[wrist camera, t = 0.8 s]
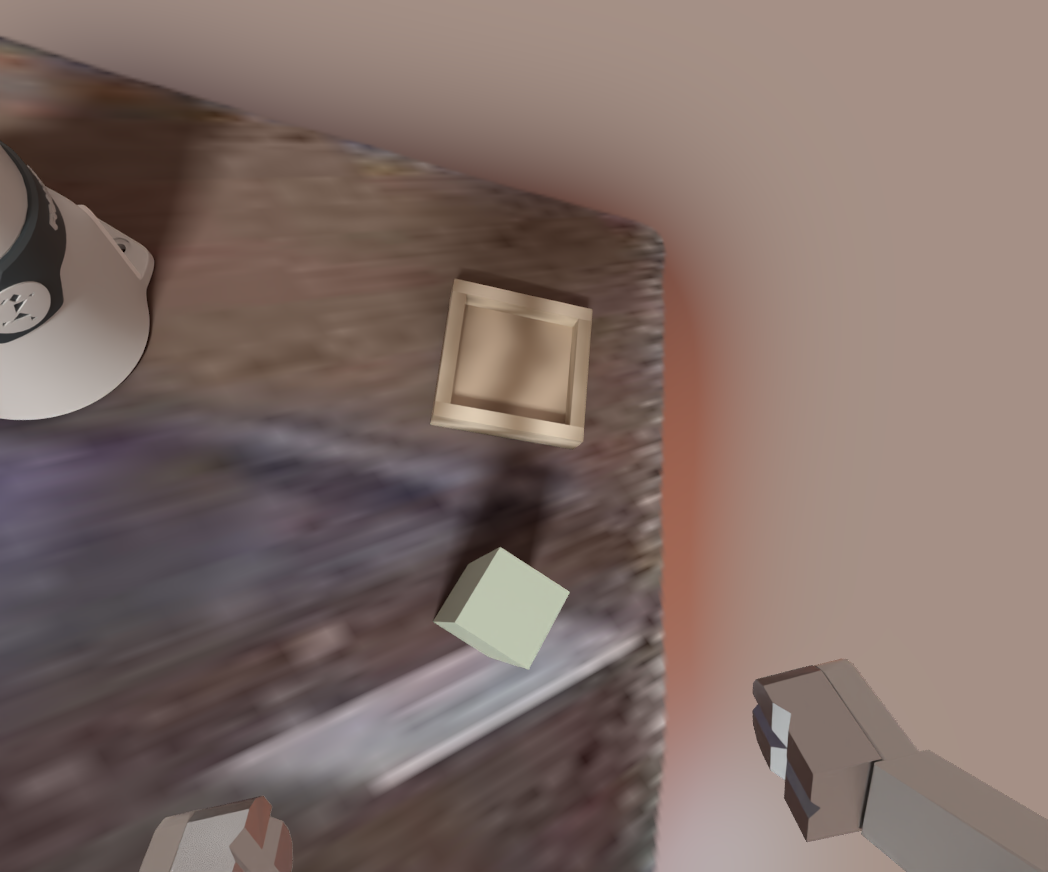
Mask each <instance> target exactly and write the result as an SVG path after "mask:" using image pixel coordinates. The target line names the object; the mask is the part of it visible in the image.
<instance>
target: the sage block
mask: <svg viewBox="0 0 1048 872" xmlns="http://www.w3.org/2000/svg"><path fill="white" fill-rule="evenodd" d="M569 593H570V592H569V591H567V590H566V589H564V588H563V587H561V586H560V585H558V584H557V583H555V582H553V581H552V580H550V579H549V578H547V577H546V576H544V575H543V574H541V573H540V572H538V571H537V570H535V569H533V568H532V567H530V566H529V565H527V564H526V563H524V562H523V561H521V560H520V559H518V558H517V557H515V556H513V555H512V554H510V553H509V552H507V551H506V550H504V549H503V548H501V547H499V548H497V549H495V550H493V551H492V552H490V553H488V554H486V555H484V556H482V557H480V558H479V559H477V560H475V561H473V562H471V563H469V564H468V565H467V567H466V569H465V570H464V572H463V573H462V575H461V577H460V578H459V580H458V582H457V583H456V585H455V586H454V588H453V590H452V591H451V593H450V595H449V596H448V598H447V599H446V601H445V603H444V604H443V606H442V608H441V609H440V611H439V612H438V614H437V616H436V617H435V619H434V621H433V622H434V623H436V624H438V625H439V626H441V627H442V628H444V629H445V630H447V631H449V632H450V633H452V634H453V635H455V636H456V637H458V638H460V639H461V640H463V641H464V642H466V643H467V644H469V645H470V646H472V647H474V648H475V649H477V650H478V651H480V652H481V653H483V654H485V655H486V656H488V657H490V658H493V659H496V660H500V661H503V662H506V663H509V664H512V665H515V666H519V667H522V668H525V669H528V670H529V668H530V666H531V664H532V662H533V660H534V659H535V657H536V655H537V653H538V651H539V649H540V647H541V645H542V643H543V642H544V640H545V638H546V636H547V634H548V632H549V630H550V628H551V627H552V625H553V623H554V621H555V619H556V617H557V615H558V613H559V612H560V610H561V608H562V606H563V604H564V602H565V600H566V598H567V597H568V595H569Z"/></svg>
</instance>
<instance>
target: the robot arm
mask: <svg viewBox="0 0 1048 872" xmlns="http://www.w3.org/2000/svg"><path fill="white" fill-rule="evenodd" d="M121 249H126V250H125V252H123V251H122V250H121ZM153 269H154V258H153V256H152V255H151V254H150V252H149V251H148V250H147V249H146V248H145V247H144V246H143V245H141V244H140V243H138V242H136V241H135V240H133V239H131V238H130V237H128V236H127V235H125V234H123V233H122V232H120V231H118V230H117V229H115V228H113V227H112V226H110V225H108V224H107V223H105V222H103V221H102V220H100V219H99V218H97V217H96V216H95V215H94V214H93V213H92V211H91V210H90V209H89V208H87V207H86V206H85V205H76V204H75V203H73V202H72V201H70V200H69V199H67V198H66V197H64V196H62V195H60V194H59V193H57V192H55V191H53V190H51V189H50V188H48V187H46V186H45V185H44V184H43V182H42V181H41V180H40V178H39V177H38V176H37V175H36V173H35V172H34V171H33V170H32V169H31V168H30V166H29V165H26V164H25V163H24V162H23V161H22V160H21V158H20V157H19V156H18V155H17V154H16V153H15V152H14V151H13V150H12V149H11V148H10V147H8V146H7V145H6V144H4V143H3V142H2V141H0V418H2V419H11V420H33V419H43V418H50V417H55V416H59V415H63V414H67V413H70V412H73V411H76V410H78V409H81V408H83V407H85V406H87V405H90V404H92V403H93V402H95V401H97V400H99V399H100V398H102V397H104V396H105V395H107V394H108V393H109V392H111V391H112V390H113V389H115V388H116V387H117V386H118V385H119V384H120V383H121V382H122V381H123V380H124V379H125V378H126V377H127V376H128V375H129V374H130V373H131V371H132V370H133V369H134V367H135V366H136V364H137V363H138V361H139V359H140V357H141V355H142V353H143V351H144V349H145V346H146V343H147V339H148V334H149V311H148V304H147V297H146V289H147V287H148V284H149V281H150V279H151V276H152V272H153ZM753 695H754V697H755V699H756V701H757V703H758V705H757V706H756V707H755V708H754V710H753V726H754V730H755V734H756V738H757V741H758V744H759V746H760V749H761V751H762V754H763V756H764V758H765V760H766V762H767V764H768V766H769V768H770V770H771V771H772V772H774V773H775V774H776V775H778V776H779V777H781V778H782V779H784V780H785V795H784V799H785V801H786V802H787V804H788V806H789V808H790V810H791V812H792V814H793V816H794V818H795V820H796V822H797V824H798V826H799V828H800V830H801V832H802V834H803V836H804V838H805V840H806V842H810V841H815V840H820V839H824V838H829V837H834V836H839V835H844V834H848V833H853V832H858V831H862V833H861V834H862V835H863V836H864V837H865V838H866V839H868V840H869V841H870V842H871V843H873V844H874V845H875V846H876V847H877V848H878V849H880V850H881V851H882V852H883V853H884V854H886V855H887V856H888V857H889V858H890V859H892V860H893V861H894V862H895V863H896V864H898V865H899V866H900V867H901V868H902V869H903V870H905V871H906V872H1048V820H1047V819H1046V818H1044V817H1042V816H1041V815H1039V814H1037V813H1035V812H1034V811H1032V810H1030V809H1029V808H1027V807H1025V806H1024V805H1022V804H1020V803H1018V802H1017V801H1015V800H1013V799H1012V798H1010V797H1008V796H1007V795H1005V794H1003V793H1001V792H1000V791H998V790H996V789H995V788H993V787H991V786H990V785H988V784H986V783H984V782H983V781H981V780H979V779H978V778H976V777H974V776H972V775H971V774H969V773H967V772H966V771H964V770H962V769H961V768H959V767H957V766H956V765H954V764H952V763H950V762H949V761H947V760H945V759H944V758H942V757H940V756H938V755H937V754H935V753H933V752H932V751H930V750H925V751H918V750H917V748H916V747H915V745H914V744H913V743H912V741H911V740H910V739H909V737H908V736H907V735H906V733H905V732H904V731H903V730H902V728H901V727H900V725H899V724H898V723H897V722H896V720H895V719H894V717H893V716H892V715H891V713H890V712H889V711H888V710H887V708H886V707H885V705H884V704H883V703H882V701H881V700H880V699H879V698H878V696H877V695H876V694H875V692H874V691H873V690H872V688H871V687H870V686H869V684H868V683H867V682H866V680H865V679H864V678H863V676H862V675H861V674H860V672H859V671H858V670H857V668H856V667H855V666H854V664H852V663H851V662H849V661H848V660H847V659H838V660H834V661H830V662H826V663H822V664H818V665H814V666H813V665H811V666H806V667H802V668H798V669H795V670H791V671H787V672H783V673H779V674H775V675H771V676H767V677H763V678H760V679H756V680H755V681H754V683H753ZM271 810H272V805H271V804H270V803H269V802H268V801H267V799H266V798H265V797H264V796H259V797H255V798H250V799H246V800H242V801H237V802H233V803H228V804H224V805H220V806H215V807H211V808H207V809H202V810H195V811H191V812H187V813H183V814H179V815H175V816H170V817H166V818H164V820H163V821H162V822H161V824H160V825H159V826H158V828H157V829H156V830H155V832H154V834H153V837H152V840H151V842H150V845H149V847H148V850H147V852H146V855H145V857H144V860H143V862H142V865H141V867H140V870H139V872H292V866H293V842H292V839H291V836H290V832H289V829H288V828H287V826H286V825H285V823H284V822H283V821H281V820H278V819H275V818H273V817H270V814H271Z"/></svg>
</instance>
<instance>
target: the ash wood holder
mask: <svg viewBox="0 0 1048 872" xmlns="http://www.w3.org/2000/svg"><path fill="white" fill-rule="evenodd" d="M591 323H592V309H588V308H584V307H579V306H575V305H571V304H566V303H562V302H557V301H553V300H548V299H544V298H539V297H535V296H530V295H526V294H521V293H517V292H513V291H508V290H504V289H499V288H495V287H490V286H486V285H481V284H477V283H472V282H468V281H463V280H459V279H454V283H453V287H452V290H451V295H450V301H449V308H448V314H447V320H446V327H445V333H444V339H443V346H442V352H441V358H440V365H439V371H438V377H437V384H436V390H435V396H434V403H433V409H432V415H431V422H430V425H434V426H440V427H446V428H452V429H457V430H463V431H469V432H475V433H481V434H486V435H492V436H498V437H504V438H510V439H515V440H521V441H527V442H533V443H538V444H544V445H550V446H556V447H562V448H567V449H574V448H576V447H577V446H578V445H579V444H581V443H582V442H583V434H584V420H585V406H586V392H587V378H588V364H589V351H590V337H591Z"/></svg>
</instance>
